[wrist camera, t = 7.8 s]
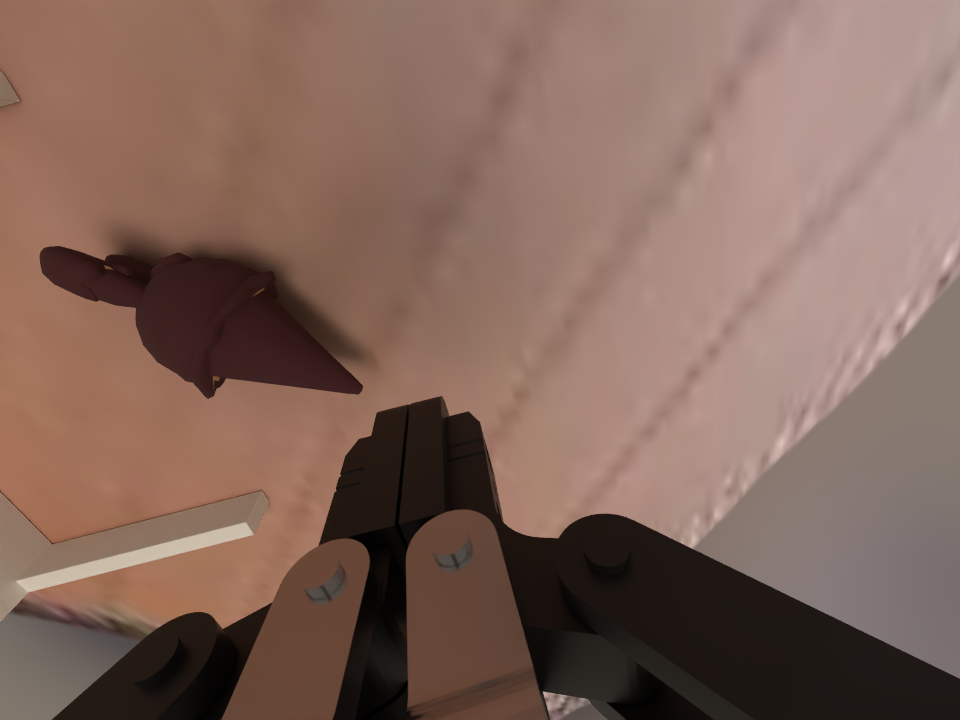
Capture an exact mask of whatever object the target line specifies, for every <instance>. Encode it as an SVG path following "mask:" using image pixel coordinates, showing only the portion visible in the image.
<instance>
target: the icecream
mask: <svg viewBox="0 0 960 720" xmlns="http://www.w3.org/2000/svg"><path fill="white" fill-rule="evenodd" d="M40 264H41V269H42V273H43V274H44V275H45V276H46V277H47V278H48V279H49V280H50V281H51V282H52V283H53V284H55V285H57V286H59V287H61V288H63V289H65V290H67V291H69V292H72V293H74V294H76V295H78V296H81V297H83V298H86V299H89V300H92V301H96V302H97V301H99V300H101V301H104V302H107V303H110V304H113V305H117V306H126V307H135V308H136V326H137V329H138V332H139V334H140V337H141V340H142V343H143V345H144V346H145V348H146V349H147V350H148V351H149V352H150V354H151V355H152V356H153V357H154V359H155V360H156V361H157V362H158V363H160V364H161V365H163V366H165V367H166V368H168V369H170V370H171V371H173V372H175V373H176V374H178V375H179V376H180V377H182V378H183V379H184V380H185V381H188V382H193V383H194V385H195V386H196V387H197V388H198V389H199V390H200V391H201V392H202V393H203V395H204V396H205V397H206V398H207V399H208V398H211V397H213V396H214V394H215V391H216V389H217V388H219V387H221V385H222V384H223V383H224V381H225V379H226V378H229V379H237V380H245V381H253V382H261V383H269V384H277V385H285V386H293V387H301V388H309V389H317V390H325V391H332V392H340V393H348V394H359V393H360V392H361V391H362V388H363V385H362V384H361V383H360V382H359V381H358V380H357V379H356V378H355V377H354V376H353V375H352V374H351V373H350V372H349V371H347V370H346V369H345V368H344V367H343V366H342V365H341V364H340V363H339V362H338V361H337V360H336V359H335V358H334V357H333V356H332V355H331V354H330V353H329V352H328V351H327V350H326V349H325V348H324V347H323V346H321V345H320V344H319V343H318V342H317V341H316V340H315V339H314V338H313V337H312V336H311V335H310V334H309V333H308V332H307V331H306V330H305V329H304V328H303V327H302V326H301V325H300V324H299V323H298V322H297V321H296V320H295V319H294V318H293V317H292V316H291V315H290V314H289V313H288V312H287V311H286V310H285V309H284V308H283V307H282V306H281V305H280V304H278V303H277V302H276V301H275V299H276V297H277V291H276V288H275V285H274V280H275V277H274V273H273V271H269V272H265V273H261V274H258V273H256V272H255V271H254V270H252V269H250V268H247V267H244V266H242V265H239V264H236V263H233V262H231V261H228V260H222V259H207V258H201V259H196V260H192V259H191V258H190V257H188V256H186V255H184V254H181V253H179V252H178V253H176V254H173V255H171V256H168V257H166V258H163V259H161V260H160V261H159V262H158V263H157V264H156V265H155V266H154V267H151V266H148V265H146V264H143V263H141V262H139V261H136V260H134V259H131V258H129V257H126V256H121V255H109V256H107V257H106V259H105V261H104V260H101V259H98V258H95V257H93V256H90V255H87V254H85V253H82V252H79V251H76V250H72V249H68V248H65V247H61V246H54V247H46V248H44V249H43V250H42V251H41V253H40Z"/></svg>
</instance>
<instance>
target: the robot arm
mask: <svg viewBox="0 0 960 720" xmlns="http://www.w3.org/2000/svg"><path fill="white" fill-rule="evenodd" d="M340 474H341V477H339V479H338V483H337V486H336V492H335V493H334V496H333V500H332V503H331V506H330V510H329V513H328V516H327V520H326V523H325V526H324V530H323V533H322V536H321V540H320V543H319V546H318V547H316V548H314V549H312V550H311V551H309V552H308V553H307V554H305V555H304V556H303V557H302V558H300V559H299V560H298V561H297V562H296V563H295V564H294V565H293V566H292V568H291V569H290V570H289V571H288V573H287V574H286V576H285V577H284V579H283V580H282V582H281V584H280V586H279V589H278V591H277V593H276V595H275V598H274V600H273V602H272V603H270V604H269V605H267V606H265V607H263V608H261V609H259V610H258V611H256V612H254V613H252V614H250V615H248V616H246V617H245V618H243V619H241V620H239V621H237V622H235V623H233V624H231V625H230V626H228V627H226V628H224V629H222V628H221V626H220V625H219V624H218V623H217V622H216V620H215V619H214V618H213V617H212V616H211V615H209V614H208V613H203V612H194V613H189V614H185V615H182V616H179V617H177V618H175V619H173V620H171V621H169V622H167V623H165V624H164V625H162V626H160V627H159V628H158V629H156V630H155V631H153V632H152V633H151V634H149V635H148V636H147V637H146V638H144V639H143V640H142V641H141V642H140V643H139V644H137V645H136V646H135V647H134V648H133V649H132V650H131V651H130V652H128V653H127V654H126V655H125V656H124V657H123V658H121V659H120V660H119V661H118V662H117V663H116V664H115V665H114V666H112V667H111V668H110V669H109V670H108V671H107V672H106V673H104V674H103V675H102V676H101V677H100V678H99V679H98V680H97V681H95V682H94V683H93V684H92V685H91V686H90V687H88V689H86V690H85V691H84V692H83V693H82V694H81V695H79V696H78V697H77V698H76V699H75V700H74V701H73V702H71V703H70V704H69V705H68V706H67V707H66V708H65V709H63V710H62V711H61V712H60V713H59V714H58V715H57V716H56V717H54V718H53V719H52V720H550V716H549V713H548V709H547V705H546V702H545V698H544V694H543V691H544V692H550V693H556V694H562V695H568V696H574V697H580V698H586V699H589V701H590V702H591V703H592V705H593V706H594V707H595V708H596V709H597V710H598V711H599V712H600V713H601V714H602V715H603V716H605V717H606V718H607V719H608V720H960V679H959V678H957V677H955V676H953V675H951V674H949V673H947V672H945V671H943V670H940V669H938V668H936V667H934V666H932V665H930V664H928V663H926V662H924V661H922V660H920V659H918V658H916V657H914V656H912V655H910V654H908V653H905V652H903V651H901V650H899V649H897V648H895V647H893V646H891V645H889V644H887V643H885V642H883V641H881V640H879V639H877V638H874V637H873V636H870V635H868V634H866V633H864V632H862V631H860V630H858V629H856V628H854V627H852V626H850V625H848V624H846V623H844V622H842V621H840V620H837V619H835V618H834V617H831V616H829V615H827V614H825V613H823V612H821V611H819V610H817V609H815V608H813V607H811V606H809V605H807V604H805V603H803V602H800V601H799V600H796V599H794V598H792V597H790V596H788V595H786V594H784V593H782V592H780V591H778V590H775V589H774V588H772V587H770V586H768V585H766V584H764V583H761V582H759V581H757V580H755V579H753V578H751V577H749V576H747V575H745V574H743V573H741V572H739V571H737V570H735V569H732V568H731V567H728V566H727V565H724V564H722V563H720V562H718V561H716V560H714V559H712V558H710V557H708V556H706V555H704V554H702V553H700V552H698V551H696V550H694V549H692V548H689V547H687V546H685V545H683V544H681V543H679V542H677V541H675V540H673V539H671V538H669V537H667V536H665V535H663V534H661V533H659V532H657V531H654V530H652V529H650V528H648V527H646V526H644V525H642V524H640V523H638V522H636V521H634V520H631V519H629V518H627V517H623V516H619V515H614V514H595V515H590V516H586V517H583V518H581V519H579V520H577V521H575V522H573V523H572V524H570V525H569V526H568V527H567V528H566V529H565V530H564V531H563V532H562V534H561V535H560V537H559V538H539V537H531V536H527V535H523V534H520V533H518V532H516V531H514V530H512V529H511V528H509V527H508V526H507V525H506V524H504V522H503V517H502V512H501V507H500V502H499V497H498V492H497V486H496V481H495V476H494V472H493V468H492V465H491V461H490V457H489V454H488V450H487V446H486V443H485V439H484V436H483V432H482V428H481V425H480V422H479V421H478V420H477V419H476V418H475V417H474V416H473V415H472V414H471V413H469V412H465V413H461V414H457V415H453V416H449V414H448V410H447V407H446V404H445V401H444V399H443V397H442V396H440V397H436V398H432V399H428V400H424V401H420V402H416V403H412V404H410V405H409V404H408V405H404V406H400V407H396V408H392V409H388V410H384V411H380V412H377V414H376V418H375V422H374V426H373V431H372V435H371V436H369V437H365V438H361V439H359V440H358V441H357V442H356V443H355V445H354V446H353V447H352V448H351V450H350V451H349V452H348V454H347V455H346V456H345V459H344V463H343V466H342V469H341V473H340Z"/></svg>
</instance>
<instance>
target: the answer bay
mask: <svg viewBox="0 0 960 720" xmlns="http://www.w3.org/2000/svg"><path fill="white" fill-rule="evenodd" d="M16 102H20V99H19V98H18V96H17V95H16V93H15V91H14V90H13V88H12V87H11V85H10V83H9V82H8V80H7V78H6V77H5V75H4V74H3V72H2V71H0V107H1V106H5V105H9V104H13V103H16ZM268 504H269V501H268V499H267V498H266V496H265V494H264V493H263V491H259V492H255V493H251V494H247V495H243V496H239V497H235V498H231V499H227V500H223V501H220V502H216V503H212V504H208V505H204V506H200V507H196V508H192V509H188V510H184V511H180V512H177V513H173V514H169V515H165V516H161V517H157V518H153V519H149V520H145V521H141V522H138V523H134V524H130V525H126V526H122V527H118V528H114V529H110V530H106V531H102V532H98V533H95V534H91V535H87V536H83V537H79V538H75V539H71V540H67V541H63V542H59V543H56V544H52V543H51V542H50V541H49V540H48V539H47V538H46V537H45V536H44V535H43V534H42V533H41V532H40V531H39V530H38V529H37V528H36V527H35V526H34V525H33V524H32V523H31V522H30V521H29V520H28V519H27V518H26V517H25V516H24V515H23V514H22V513H21V512H20V511H19V510H18V509H17V508H16V507H15V506H14V505H13V504H12V503H11V502H10V501H9V500H8V499H7V498H6V497H5V496H4V495H3V494H2V493H1V492H0V621H2V620H3V619H4V617H6V615H7V614H8V613H9V612H10V611H11V610H12V609H13V608H14V607H15V606H16V605H17V604H18V603H19V602H20V601H21V600H22V598H23V597H24V596H25V595H26V594H27V593H28V592H31V591H35V590H39V589H43V588H47V587H51V586H55V585H59V584H63V583H66V582H70V581H74V580H78V579H82V578H86V577H90V576H94V575H98V574H102V573H106V572H110V571H113V570H117V569H121V568H125V567H129V566H133V565H137V564H141V563H145V562H149V561H153V560H157V559H160V558H164V557H168V556H172V555H176V554H180V553H184V552H188V551H192V550H196V549H200V548H204V547H207V546H211V545H215V544H219V543H223V542H227V541H231V540H235V539H239V538H243V537H247V536H251V535H254V533H255V531H256V529H257V527H258V525H259V523H260V521H261V519H262V517H263V515H264V513H265V511H266V509H267V506H268Z"/></svg>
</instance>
